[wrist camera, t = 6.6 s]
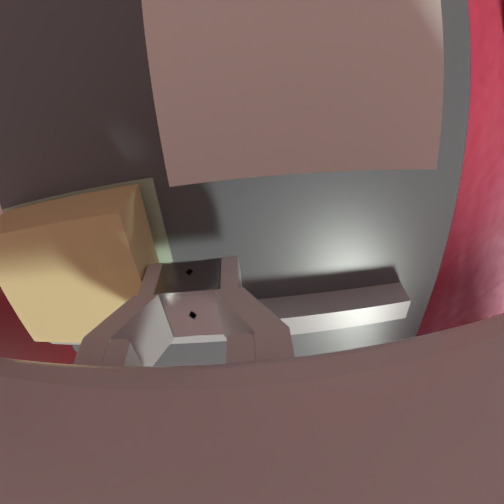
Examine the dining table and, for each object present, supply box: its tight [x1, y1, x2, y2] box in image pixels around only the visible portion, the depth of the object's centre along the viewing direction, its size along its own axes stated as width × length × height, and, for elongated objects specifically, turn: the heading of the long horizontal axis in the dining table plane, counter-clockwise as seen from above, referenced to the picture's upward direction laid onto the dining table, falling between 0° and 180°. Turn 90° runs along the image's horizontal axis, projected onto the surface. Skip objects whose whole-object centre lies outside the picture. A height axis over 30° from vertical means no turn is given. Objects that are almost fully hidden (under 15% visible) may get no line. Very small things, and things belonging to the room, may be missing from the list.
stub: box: [0, 184, 160, 343], centre depth 10 cm, size 6×5×2 cm
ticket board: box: [0, 0, 471, 366], centre depth 10 cm, size 18×22×4 cm
